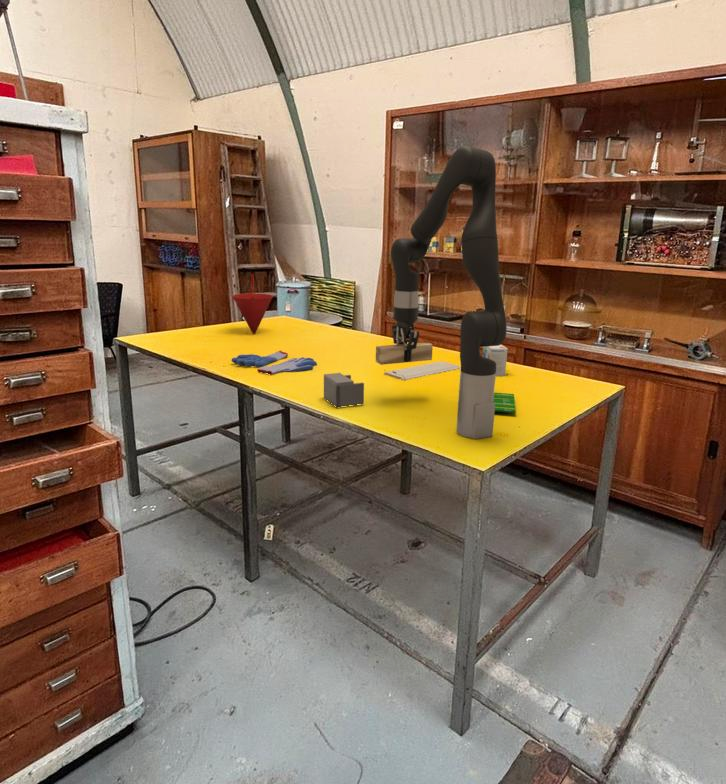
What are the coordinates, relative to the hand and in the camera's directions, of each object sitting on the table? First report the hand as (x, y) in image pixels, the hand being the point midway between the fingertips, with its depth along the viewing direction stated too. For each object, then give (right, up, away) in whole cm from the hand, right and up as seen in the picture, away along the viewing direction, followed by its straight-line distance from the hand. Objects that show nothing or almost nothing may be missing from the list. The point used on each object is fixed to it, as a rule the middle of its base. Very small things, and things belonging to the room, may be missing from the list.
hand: (403, 359), depth 181 cm
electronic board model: (+28, -13, +5) cm, 32 cm away
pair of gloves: (-47, 0, +45) cm, 65 cm away
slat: (0, 0, 0) cm, 0 cm away
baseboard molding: (+11, -3, +39) cm, 41 cm away
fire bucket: (-67, +18, +104) cm, 125 cm away
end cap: (-19, -13, +1) cm, 23 cm away
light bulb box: (+37, -3, +40) cm, 54 cm away
